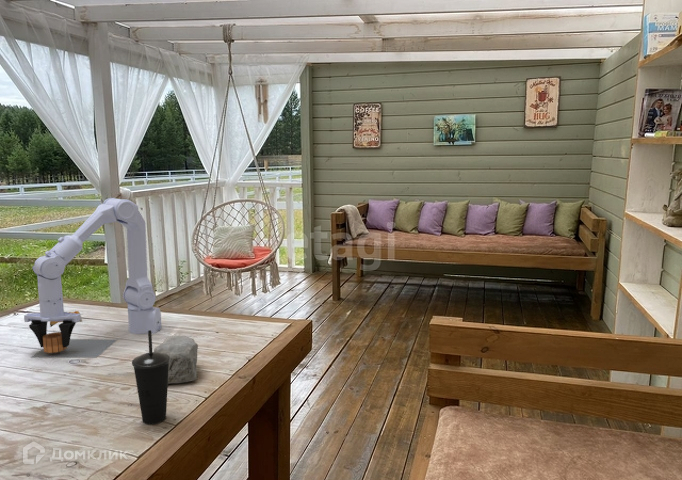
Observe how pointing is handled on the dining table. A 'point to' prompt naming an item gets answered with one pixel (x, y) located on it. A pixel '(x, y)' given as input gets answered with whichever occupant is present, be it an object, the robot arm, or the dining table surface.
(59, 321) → the pastry
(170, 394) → the dining table surface
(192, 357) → the stone
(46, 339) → the bead
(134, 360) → the drinking cup
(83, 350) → the grey rectangular slab
